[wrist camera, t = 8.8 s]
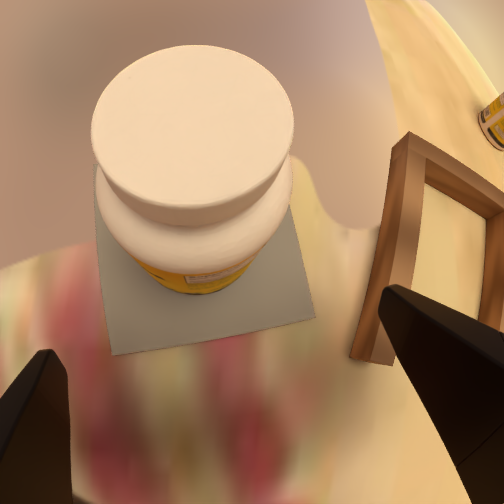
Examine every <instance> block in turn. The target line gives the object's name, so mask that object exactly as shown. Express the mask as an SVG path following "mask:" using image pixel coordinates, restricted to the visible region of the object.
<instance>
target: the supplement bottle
mask: <svg viewBox="0 0 504 504" xmlns="http://www.w3.org/2000/svg"><path fill="white" fill-rule="evenodd" d="M479 123H480V126H481V128H482V130H483V132H484V134H485V135H486V137H487V138H488V140H489V141H490V142H491V143H492V144H493V145H494V146H495V147H496V148H498V149H500V150H504V92H503V93H502V94H501V95H500V96H499V97H498V98H496V99H495V100H494V101H493V102H492V103H491V104H490V105H488V106H487V107H486V108H485V109H484V110H483V111H482V112H481V113H480V114H479Z"/></svg>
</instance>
